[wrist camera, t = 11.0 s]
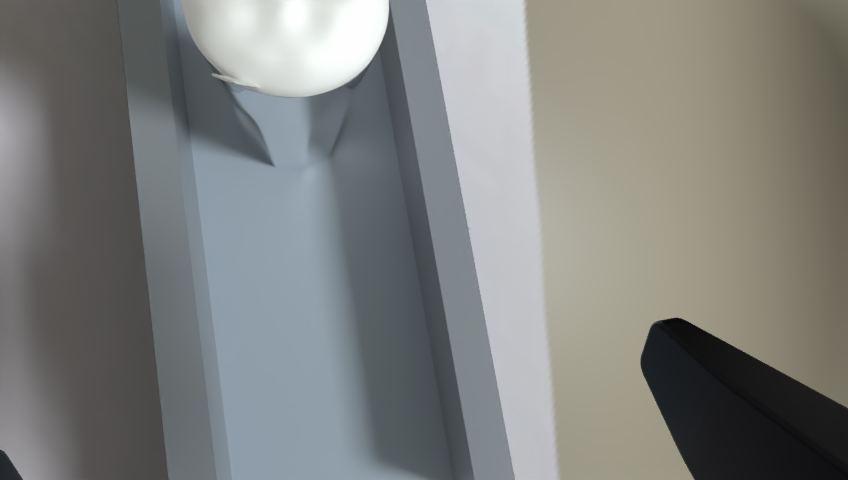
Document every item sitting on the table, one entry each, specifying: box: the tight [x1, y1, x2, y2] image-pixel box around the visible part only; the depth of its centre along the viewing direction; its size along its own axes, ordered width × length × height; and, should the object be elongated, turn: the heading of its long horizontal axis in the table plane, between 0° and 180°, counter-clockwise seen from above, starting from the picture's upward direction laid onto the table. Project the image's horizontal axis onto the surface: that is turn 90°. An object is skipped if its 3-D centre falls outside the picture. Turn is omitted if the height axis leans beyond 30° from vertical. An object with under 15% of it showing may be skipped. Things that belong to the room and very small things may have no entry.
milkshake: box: [181, 0, 389, 169], centre depth 17 cm, size 4×5×10 cm
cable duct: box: [117, 0, 515, 480], centre depth 20 cm, size 22×9×4 cm, turn 10°
